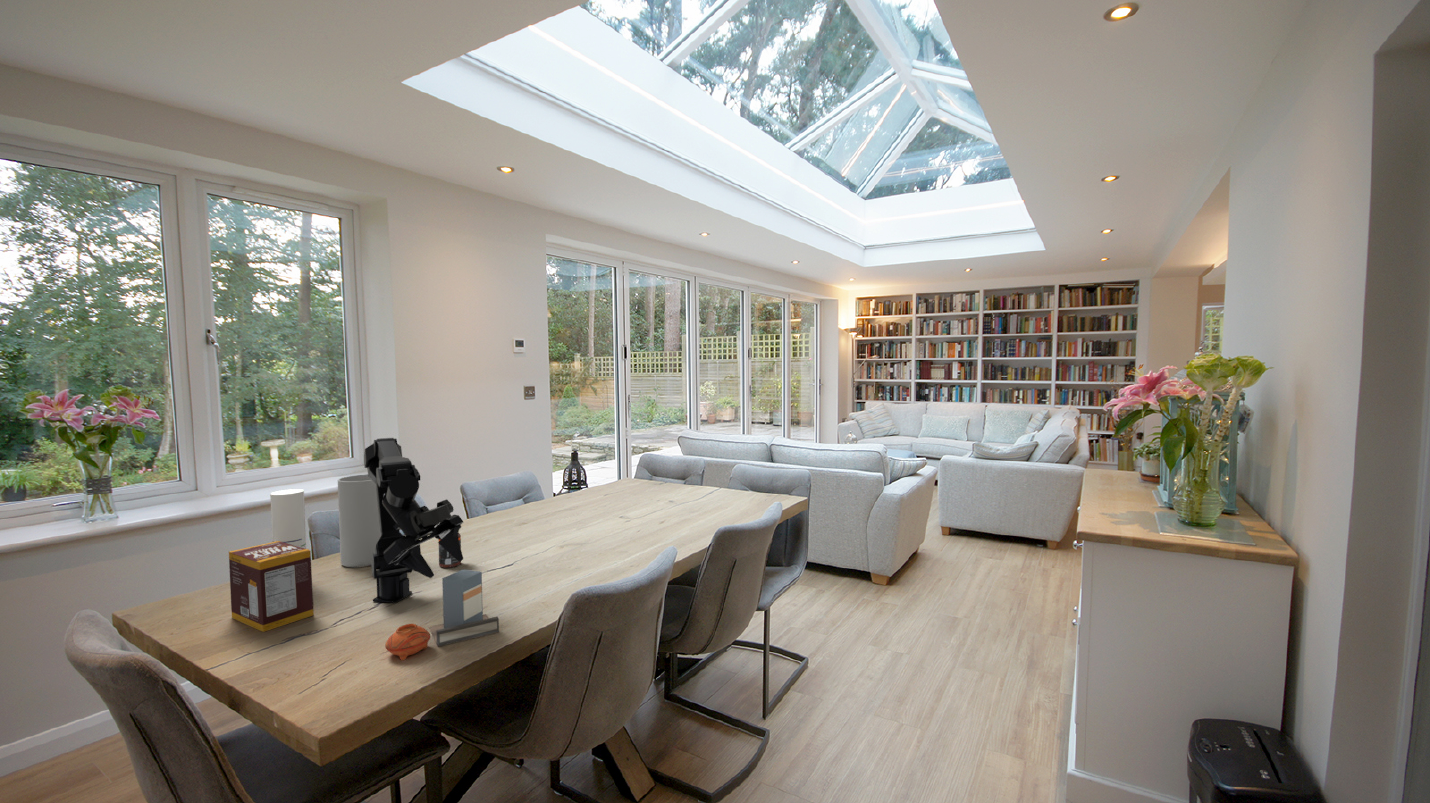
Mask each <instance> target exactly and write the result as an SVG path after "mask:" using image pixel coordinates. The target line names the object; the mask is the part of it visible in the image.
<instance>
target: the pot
mask: <svg viewBox="0 0 1430 803" xmlns="http://www.w3.org/2000/svg"><path fill="white" fill-rule="evenodd" d="M430 640H431V632H430V631H428V629H426V628H425V627H423V626H420V625H418V624H416V623H406V624H405V625H401V626H399V627H397V629H396V630H395V631H394V632H393V633H392V634H391V635H390V636H389V637H388V638H387V640H386V642H385V645H384V647H385V649H386V650H387V652H389V653H390V654H392V655H395V656H398V657H399V658H400V660H401V661H404V660H406V659H408V658H407V657H409V656H412V655H415V654H417V653H419V652H420V651H421V650H426V649H427V648H428V645H429V641H430Z"/></svg>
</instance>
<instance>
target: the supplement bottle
mask: <svg viewBox="0 0 1430 803" xmlns="http://www.w3.org/2000/svg"><path fill="white" fill-rule="evenodd" d="M458 539H459V544H460V548H461V549H462V538H461V533H460V532H459V533H458ZM440 540H441V539H440ZM440 540H439V539H438V542H439V541H440ZM461 563H462V561H461V562H459V561H458V560H457V559H455V558H454V557H453V556H452V555H451V554H450V553H449V552H448V551H446V550H445V549H444V548H443V547H442V546H441V545H440V544H439V543H438V565H439V567H440V568H443V569H444V568H446V569H447V568H448V569H449V568H455V567H458V566H460V565H461Z"/></svg>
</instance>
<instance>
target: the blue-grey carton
mask: <svg viewBox="0 0 1430 803" xmlns="http://www.w3.org/2000/svg"><path fill="white" fill-rule="evenodd" d="M482 574H483V573H482V571H478V570H470V569H461V570H459V571H456V572H453V573H451V574H450V575H447V576H444V577H442V579H441V580H442V583H441V584H442V585H441V586H442V610H443V611H442V612H443V613H442V616H443V619H442V620H443V624H444V628H449V627H453V626H458V625H462V624H466V623H471V622H475V621H479V620H483V615H484V613H483V612H484V611H483V610H484V609H483V605H484V604H483V577H482V576H483V575H482Z"/></svg>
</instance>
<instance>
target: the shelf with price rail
mask: <svg viewBox="0 0 1430 803" xmlns="http://www.w3.org/2000/svg"><path fill="white" fill-rule="evenodd" d="M499 620H500V619H499V616H494V617H493V616H492V617H489V616H488V615H487V614H486V613H483V620H479V621H475V622H471V623H466V624H462V625H458V626H453V627H449V628H444V623H440V624H435V625H431V626H428V629H429V632H430V635H432V638H433V640H434V643H435V644H436V646H437V648H439V647H443V646H446V645H450V644H456V643H459V642H463V641H467V640H472V639H476V638H481V637H484V636H488V635H492V634H496V633H499V632H500V623H499Z"/></svg>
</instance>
